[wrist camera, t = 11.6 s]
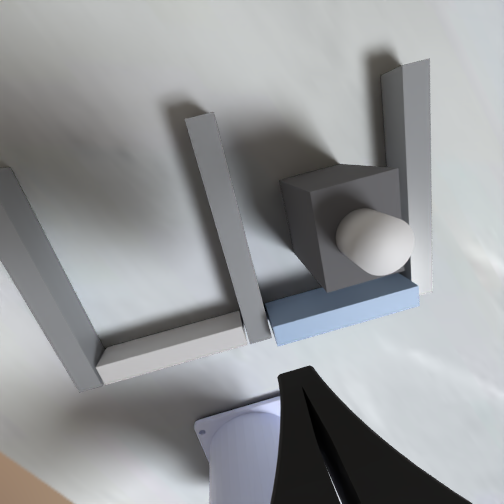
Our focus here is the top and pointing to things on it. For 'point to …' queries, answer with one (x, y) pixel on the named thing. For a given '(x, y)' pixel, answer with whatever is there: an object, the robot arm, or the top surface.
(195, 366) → the top surface
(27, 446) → the top surface
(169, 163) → the top surface
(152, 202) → the top surface
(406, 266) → the cable duct
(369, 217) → the cord connector
